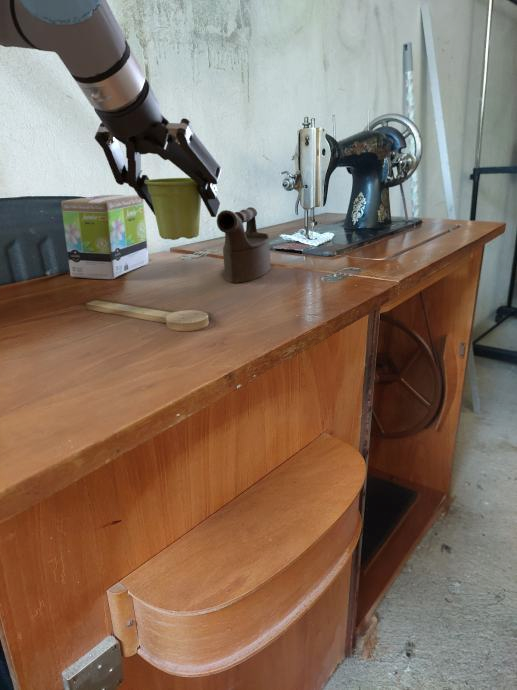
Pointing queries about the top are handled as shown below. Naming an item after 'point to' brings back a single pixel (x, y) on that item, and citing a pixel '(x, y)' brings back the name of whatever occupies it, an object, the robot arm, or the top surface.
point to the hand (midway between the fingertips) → (187, 209)
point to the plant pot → (176, 207)
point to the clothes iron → (243, 246)
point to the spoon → (155, 315)
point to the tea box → (105, 235)
